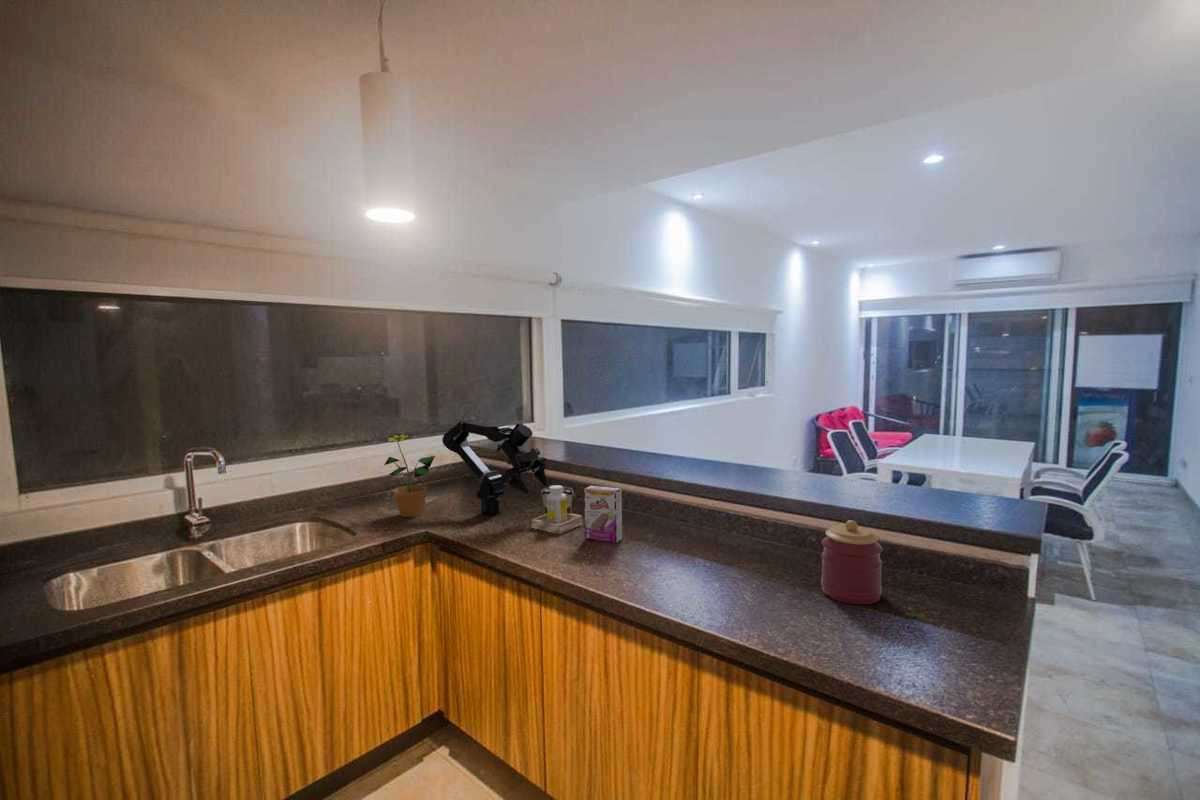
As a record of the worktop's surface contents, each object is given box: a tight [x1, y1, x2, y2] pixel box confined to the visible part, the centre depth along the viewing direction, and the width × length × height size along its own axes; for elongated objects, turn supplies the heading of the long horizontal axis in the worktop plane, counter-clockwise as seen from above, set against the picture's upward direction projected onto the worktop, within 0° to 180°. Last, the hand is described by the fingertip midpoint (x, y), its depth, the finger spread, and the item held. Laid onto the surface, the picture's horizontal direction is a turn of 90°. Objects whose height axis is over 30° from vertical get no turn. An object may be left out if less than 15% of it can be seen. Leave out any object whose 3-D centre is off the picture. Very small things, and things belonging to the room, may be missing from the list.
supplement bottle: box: [547, 484, 567, 524], centre depth 182 cm, size 7×7×13 cm
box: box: [530, 513, 584, 535], centre depth 183 cm, size 12×12×3 cm
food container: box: [540, 486, 575, 515], centre depth 196 cm, size 12×6×10 cm, turn 84°
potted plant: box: [384, 433, 436, 519], centre depth 199 cm, size 18×19×30 cm
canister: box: [820, 519, 883, 605], centre depth 126 cm, size 13×13×18 cm
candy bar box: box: [583, 485, 623, 544], centre depth 168 cm, size 11×5×16 cm, turn 65°
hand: (537, 489), depth 187 cm, fingers open, 9 cm apart
